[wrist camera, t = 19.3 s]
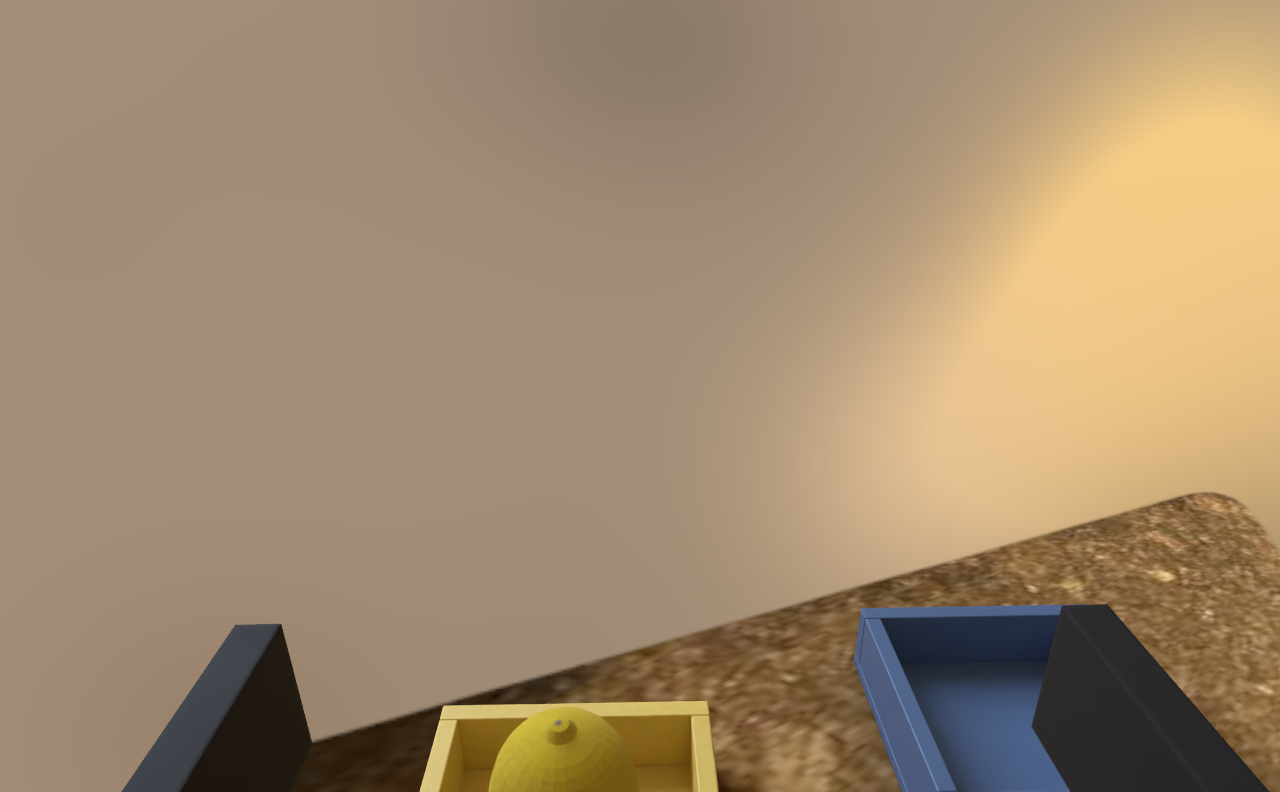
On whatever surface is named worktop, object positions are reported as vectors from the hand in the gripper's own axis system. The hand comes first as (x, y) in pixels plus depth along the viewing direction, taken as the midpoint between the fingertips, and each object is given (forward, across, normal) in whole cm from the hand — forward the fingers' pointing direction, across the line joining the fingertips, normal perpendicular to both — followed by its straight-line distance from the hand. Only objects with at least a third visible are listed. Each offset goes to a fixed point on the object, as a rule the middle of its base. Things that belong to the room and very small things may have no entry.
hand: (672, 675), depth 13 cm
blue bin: (+16, +16, -20) cm, 30 cm away
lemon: (+10, -4, -20) cm, 22 cm away
